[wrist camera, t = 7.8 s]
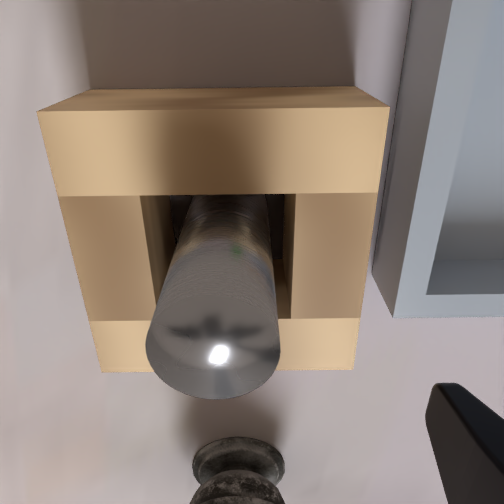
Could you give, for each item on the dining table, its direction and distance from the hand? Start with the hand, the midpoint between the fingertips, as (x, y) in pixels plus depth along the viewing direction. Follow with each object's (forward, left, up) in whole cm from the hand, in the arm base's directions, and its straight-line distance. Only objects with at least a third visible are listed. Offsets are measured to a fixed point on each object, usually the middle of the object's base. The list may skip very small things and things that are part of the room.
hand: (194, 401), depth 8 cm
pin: (0, 0, -10) cm, 10 cm away
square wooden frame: (0, 0, -10) cm, 10 cm away
